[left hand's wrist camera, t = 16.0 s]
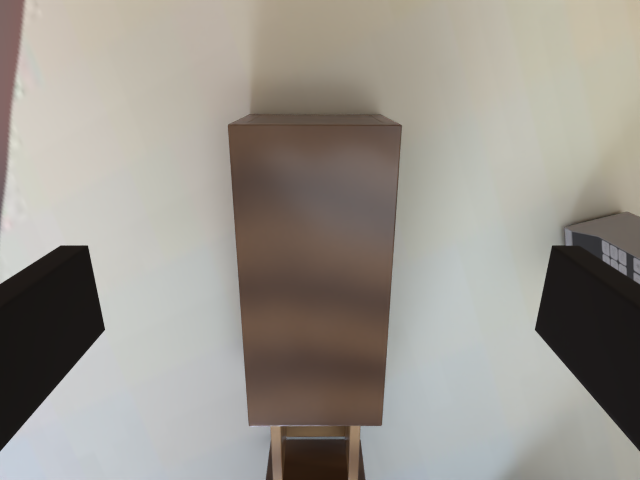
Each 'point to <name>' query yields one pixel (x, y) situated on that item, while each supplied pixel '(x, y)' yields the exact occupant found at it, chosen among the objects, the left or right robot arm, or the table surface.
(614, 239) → the vintage mobile phone
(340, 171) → the cabinet
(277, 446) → the drawer
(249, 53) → the table surface
